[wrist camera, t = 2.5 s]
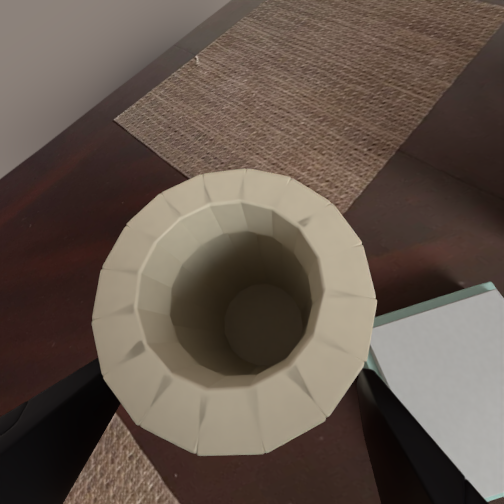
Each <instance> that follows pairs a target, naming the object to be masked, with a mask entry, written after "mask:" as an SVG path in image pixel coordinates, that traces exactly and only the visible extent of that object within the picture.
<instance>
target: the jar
mask: <svg viewBox="0 0 504 504" xmlns="http://www.w3.org/2000/svg"><path fill="white" fill-rule="evenodd" d="M126 225H127V226H126V227H124V229H123V231H122V232H121V234H120V236H119V238H118V240H117V241H116V243H115V245H114V247H113V248H112V250H111V252H110V254H109V255H108V257H107V259H106V261H105V263H104V264H103V267H102V268H103V269H102V270H101V271H100V276H99V282H98V287H97V293H96V298H95V304H94V310H93V315H92V320H93V321H92V328H93V333H94V338H95V343H96V348H97V353H98V358H99V363H100V368H101V373H102V376H104V377H103V379H104V380H105V382H106V383H107V385H108V386H109V387H110V389H111V390H112V392H113V393H114V394H115V396H116V397H117V398H118V400H119V401H120V403H121V404H122V405H123V407H124V408H125V410H126V411H127V412H128V414H129V415H130V417H131V418H132V419H133V421H134V422H135V423H136V425H140V426H141V427H142V428H144V429H146V430H148V431H150V432H152V433H154V434H155V435H157V436H159V437H161V438H163V439H165V440H167V441H169V442H171V443H173V444H175V445H177V446H179V447H181V448H183V449H185V450H187V451H189V452H191V453H197V455H199V456H215V455H254V454H263V453H264V452H265V453H269V452H271V451H272V450H274V449H276V448H278V447H280V446H281V445H283V444H285V443H287V442H288V441H290V440H292V439H294V438H296V437H297V436H299V435H301V434H303V433H305V432H306V431H308V430H310V429H312V428H314V427H315V426H317V425H319V424H321V423H322V422H324V421H325V420H326V417H328V416H330V415H331V413H332V412H333V410H334V409H335V407H336V406H337V404H338V403H339V402H340V400H341V399H342V397H343V396H344V394H345V393H346V391H347V390H348V388H349V387H350V386H351V384H352V383H353V381H354V380H355V378H356V377H357V375H358V374H359V373H360V371H361V370H362V368H363V367H364V362H366V361H367V359H368V353H369V347H370V341H371V335H372V330H373V324H374V318H375V312H376V306H377V300H376V299H375V298H376V295H375V291H374V287H373V283H372V279H371V275H370V271H369V267H368V263H367V259H366V255H365V251H364V247H363V246H362V245H361V244H362V242H361V240H360V239H359V237H358V236H357V235H356V233H355V232H354V231H353V229H352V228H351V227H350V225H349V224H348V223H347V221H346V220H345V219H344V217H343V216H342V215H341V213H340V212H339V211H338V209H337V208H336V207H335V205H334V204H333V203H330V201H329V200H327V199H326V198H324V197H322V196H321V195H319V194H317V193H316V192H314V191H313V190H311V189H309V188H308V187H306V186H304V185H303V184H301V183H300V182H298V181H296V180H295V179H291V178H290V177H289V176H284V175H279V174H274V173H269V172H264V171H259V170H255V169H250V168H248V169H247V170H246V169H236V170H228V171H220V172H212V173H205V174H203V175H201V174H200V175H198V176H195V177H193V178H191V179H189V180H187V181H185V182H183V183H180V184H178V185H176V186H174V187H172V188H170V189H168V190H165V191H163V192H162V194H158V195H157V196H156V197H155V198H154V199H153V200H152V201H151V202H150V203H149V204H147V205H146V206H145V207H144V208H143V209H142V210H141V211H140V212H139V213H138V214H137V215H135V216H134V217H133V218H132V219H131V220H130V221H129V222H128V223H127V224H126Z"/></svg>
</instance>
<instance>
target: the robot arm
mask: <svg viewBox="0 0 504 504" xmlns="http://www.w3.org/2000/svg"><path fill="white" fill-rule="evenodd" d="M103 377H104V376H102V373H101V368H100V363H99V358H97V359H95V360H93V361H92V362H90V363H89V364H87V365H85V366H84V367H82V368H80V369H79V370H77V371H76V372H74V373H72V374H71V375H69V376H67V377H66V378H64V379H62V380H61V381H59V382H58V383H56V384H54V385H53V386H51V387H49V388H48V389H46V390H44V391H43V392H41V393H40V394H38V395H36V396H35V397H33V398H31V399H30V400H29V401H27V402H25V403H23V404H21V405H20V406H18V407H17V408H15V409H13V410H12V411H10V412H8V413H7V414H5V415H3V416H2V417H0V504H63V502H64V501H65V499H66V497H67V495H68V494H69V492H70V490H71V488H72V487H73V485H74V483H75V482H76V480H77V478H78V476H79V475H80V473H81V471H82V469H83V468H84V466H85V464H86V462H87V461H88V459H89V457H90V456H91V454H92V452H93V450H94V449H95V447H96V445H97V443H98V442H99V440H100V438H101V436H102V435H103V433H104V431H105V429H106V428H107V426H108V424H109V423H110V421H111V419H112V417H113V416H114V414H115V412H116V410H117V409H118V407H119V405H120V401H119V400H118V398H117V397H116V396H115V394H114V393H113V392H112V390H111V389H110V387H109V386H108V385H107V383H106V382H105V380H104V379H103ZM357 393H358V400H359V406H360V413H361V419H362V426H363V432H364V437H365V441H366V445H367V449H368V453H369V457H370V461H371V465H372V469H373V473H374V477H375V481H376V484H377V488H378V492H379V496H380V500H381V504H489V503H488V502H487V501H486V500H485V499H484V498H483V497H482V496H481V494H480V493H479V492H478V491H477V490H476V489H475V487H474V486H473V485H472V484H471V483H470V482H469V480H467V479H465V476H464V475H463V474H462V472H461V471H460V470H459V469H458V468H457V467H456V465H455V464H454V463H453V462H452V461H451V460H450V458H449V457H448V456H447V455H446V454H445V453H444V451H443V450H442V449H441V448H440V447H439V446H438V444H437V443H436V442H435V441H434V440H433V439H432V437H431V436H430V435H429V434H428V433H427V432H426V430H425V429H424V428H423V427H422V426H421V425H420V423H419V422H418V421H417V420H416V419H415V418H414V416H413V415H412V414H411V413H410V412H409V411H408V409H407V408H406V407H405V406H404V405H403V404H402V402H401V401H400V400H399V399H398V398H397V397H396V395H395V394H394V393H393V392H392V391H391V390H390V388H389V387H388V386H387V385H386V384H385V383H384V381H383V380H382V379H381V378H380V377H379V376H378V374H377V373H376V372H375V371H374V370H372V369H367V368H362V370H361V371H360V373H359V377H358V380H357Z"/></svg>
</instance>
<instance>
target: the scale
mask: <svg viewBox="0 0 504 504" xmlns="http://www.w3.org/2000/svg"><path fill="white" fill-rule="evenodd" d="M363 368H367V369H372V370H374V371H375V372H376V373H377V374H378V376H379V377H380V378H381V379H382V380H383V381H384V383H385V384H386V385H387V386H388V387H389V388H390V390H391V391H392V392H393V393H394V394H395V395H396V397H397V398H398V399H399V400H400V401H401V402H402V404H403V405H404V406H405V407H406V408H407V409H408V411H409V412H410V413H411V414H412V415H413V416H414V418H415V419H416V420H417V421H418V422H419V423H420V425H421V426H422V427H423V428H424V429H425V430H426V432H427V433H428V434H429V435H430V436H431V437H432V439H433V440H434V441H435V442H436V443H437V444H438V446H439V447H440V448H441V449H442V450H443V451H444V453H445V454H446V455H447V456H448V457H449V458H450V460H451V461H452V462H453V463H454V464H455V465H456V467H457V468H458V469H459V470H460V471H461V472H462V474H463V475H464V476H465V479H467V480H469V482H470V483H471V484H472V485H473V486H474V487H475V489H476V490H477V491H478V492H479V493H480V494H481V496H482V497H483V498H484V499H485V500H486V501H487V502H488V501H491V500H494V499H497V498H500V497H503V496H504V298H503V297H502V296H501V294H500V293H499V291H498V290H497V289H496V288H495V286H494V285H493V283H492V282H486V283H483V284H479V285H476V286H472V287H469V288H465V289H462V290H459V291H456V292H453V293H450V294H447V295H443V296H440V297H437V298H434V299H431V300H428V301H425V302H421V303H418V304H415V305H412V306H409V307H406V308H403V309H399V310H396V311H393V312H390V313H387V314H384V315H380V316H377V317H375V318H374V324H373V330H372V335H371V341H370V347H369V353H368V359H367V361H366V362H364V367H363Z"/></svg>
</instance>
